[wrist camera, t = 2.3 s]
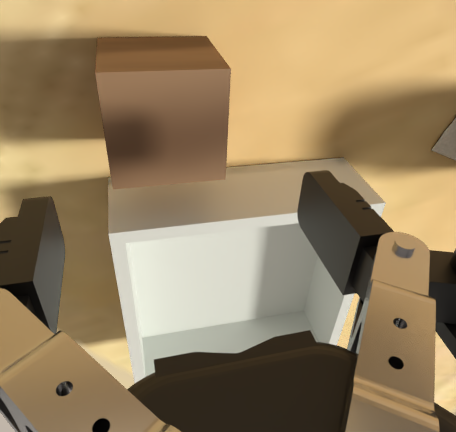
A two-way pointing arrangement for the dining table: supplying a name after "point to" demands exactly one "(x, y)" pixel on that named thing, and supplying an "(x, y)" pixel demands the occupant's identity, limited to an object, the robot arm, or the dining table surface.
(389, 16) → the dining table surface
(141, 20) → the dining table surface
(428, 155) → the dining table surface
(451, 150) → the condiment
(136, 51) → the walnut cube
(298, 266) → the tub
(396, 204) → the dining table surface
